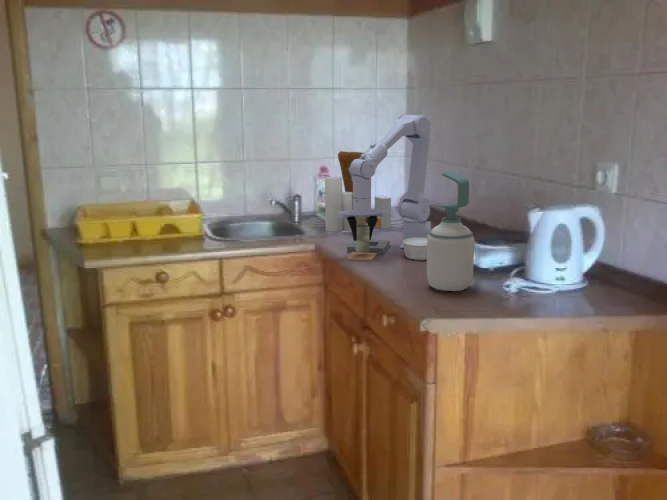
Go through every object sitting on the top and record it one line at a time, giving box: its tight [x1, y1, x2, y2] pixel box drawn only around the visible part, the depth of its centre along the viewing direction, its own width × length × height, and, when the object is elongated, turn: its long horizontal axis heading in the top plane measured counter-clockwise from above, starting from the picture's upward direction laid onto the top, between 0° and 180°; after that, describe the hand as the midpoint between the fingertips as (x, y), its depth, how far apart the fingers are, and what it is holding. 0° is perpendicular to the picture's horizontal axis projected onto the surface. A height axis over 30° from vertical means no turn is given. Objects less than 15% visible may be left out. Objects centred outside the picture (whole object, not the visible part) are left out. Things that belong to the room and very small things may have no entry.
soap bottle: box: [426, 170, 475, 290], centre depth 182 cm, size 12×12×31 cm
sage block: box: [355, 223, 369, 252], centre depth 219 cm, size 4×4×8 cm
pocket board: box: [346, 239, 391, 255], centre depth 230 cm, size 12×12×2 cm
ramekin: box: [402, 237, 428, 261], centre depth 219 cm, size 11×11×5 cm
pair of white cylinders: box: [324, 176, 352, 233], centre depth 261 cm, size 11×7×20 cm, turn 135°
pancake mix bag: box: [337, 151, 367, 222], centre depth 277 cm, size 7×19×28 cm, turn 32°
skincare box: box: [374, 195, 392, 230], centre depth 265 cm, size 6×4×12 cm
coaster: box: [346, 252, 378, 262], centre depth 220 cm, size 8×8×1 cm
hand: (362, 239), depth 219 cm, fingers closed on sage block, 4 cm apart
